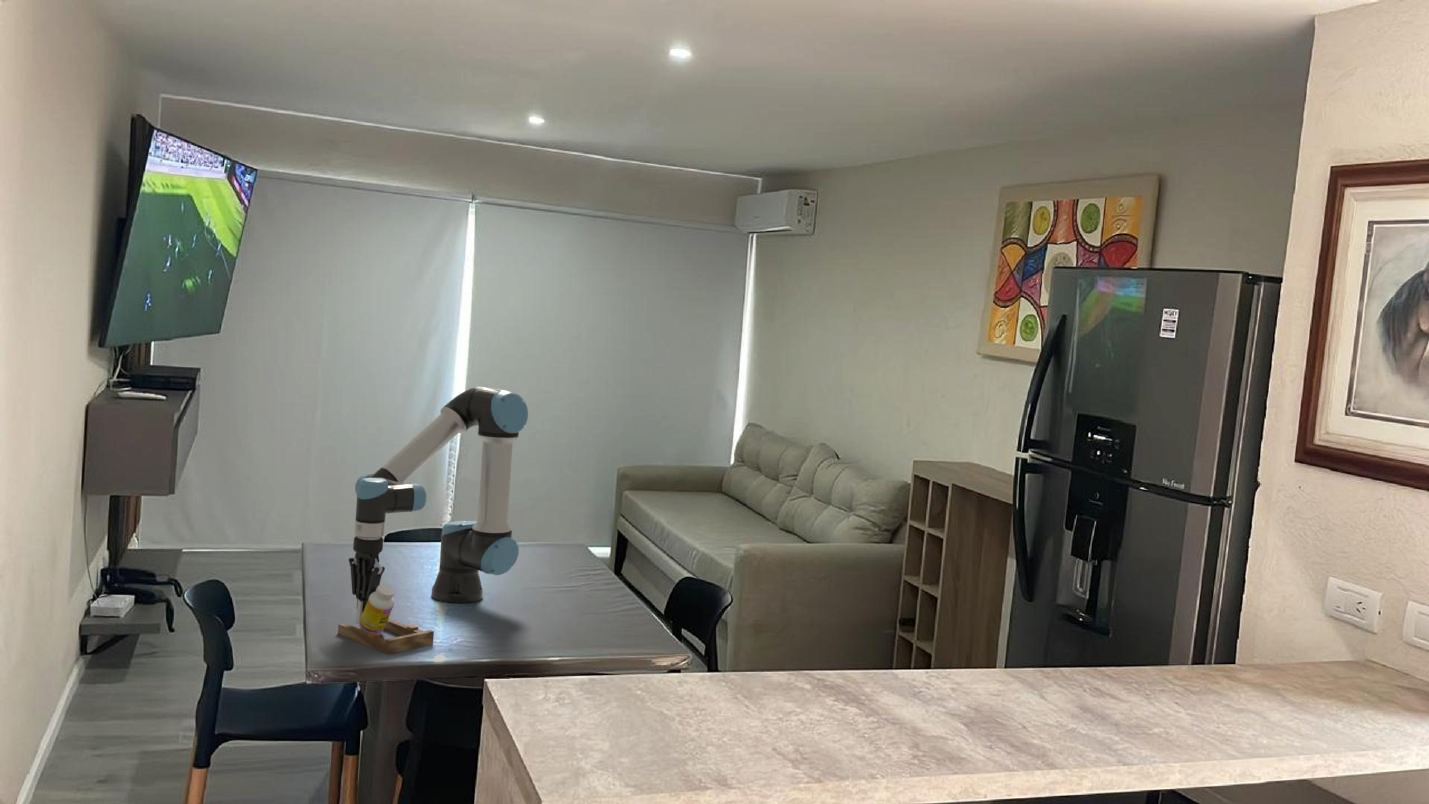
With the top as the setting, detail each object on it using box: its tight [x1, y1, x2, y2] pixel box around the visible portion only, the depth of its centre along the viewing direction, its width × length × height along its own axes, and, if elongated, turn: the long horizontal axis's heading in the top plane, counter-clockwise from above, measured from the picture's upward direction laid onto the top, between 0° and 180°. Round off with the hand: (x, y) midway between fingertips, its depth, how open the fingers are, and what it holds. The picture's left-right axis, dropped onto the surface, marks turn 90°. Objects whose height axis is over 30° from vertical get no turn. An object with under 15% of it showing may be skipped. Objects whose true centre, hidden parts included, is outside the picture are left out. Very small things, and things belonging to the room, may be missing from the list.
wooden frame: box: [337, 617, 435, 655], centre depth 298 cm, size 14×22×4 cm, turn 53°
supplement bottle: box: [358, 583, 396, 635], centre depth 299 cm, size 7×7×13 cm
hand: (361, 623), depth 303 cm, fingers closed
